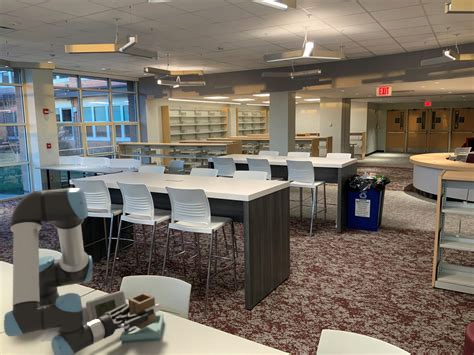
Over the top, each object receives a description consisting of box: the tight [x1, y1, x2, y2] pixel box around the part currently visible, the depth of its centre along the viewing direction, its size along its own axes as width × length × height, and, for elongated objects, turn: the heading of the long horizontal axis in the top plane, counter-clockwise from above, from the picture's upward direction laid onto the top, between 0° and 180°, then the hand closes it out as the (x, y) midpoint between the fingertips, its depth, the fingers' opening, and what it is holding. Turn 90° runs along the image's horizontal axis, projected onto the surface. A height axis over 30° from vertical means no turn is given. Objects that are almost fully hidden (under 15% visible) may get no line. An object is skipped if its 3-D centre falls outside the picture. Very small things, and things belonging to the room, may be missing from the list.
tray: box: [120, 313, 165, 344], centre depth 147 cm, size 14×14×3 cm
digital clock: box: [85, 290, 129, 322], centre depth 156 cm, size 16×9×11 cm, turn 120°
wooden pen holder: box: [127, 292, 157, 329], centre depth 146 cm, size 7×7×10 cm
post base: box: [41, 328, 59, 342], centre depth 145 cm, size 11×11×10 cm
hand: (152, 304), depth 150 cm, fingers closed on wooden pen holder, 7 cm apart
